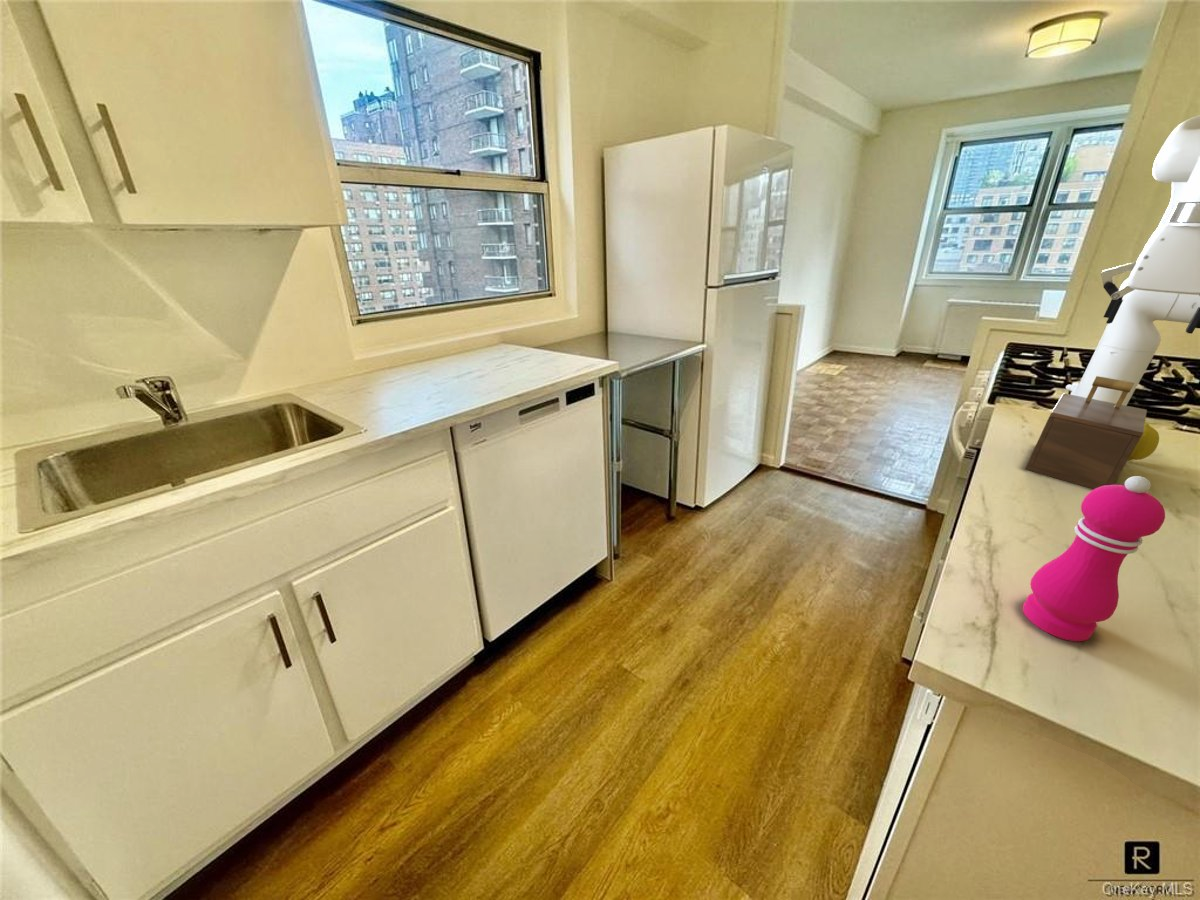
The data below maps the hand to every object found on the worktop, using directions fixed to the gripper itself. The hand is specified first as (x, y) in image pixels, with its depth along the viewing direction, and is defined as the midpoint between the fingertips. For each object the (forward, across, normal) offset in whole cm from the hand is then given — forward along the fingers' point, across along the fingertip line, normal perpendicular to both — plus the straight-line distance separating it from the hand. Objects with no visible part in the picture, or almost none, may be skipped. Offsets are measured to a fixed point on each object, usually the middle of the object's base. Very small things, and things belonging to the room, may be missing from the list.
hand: (1147, 327), depth 83 cm
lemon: (+26, -6, -6) cm, 28 cm away
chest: (+26, +1, +6) cm, 27 cm away
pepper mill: (+27, -3, +57) cm, 63 cm away
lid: (+15, +1, +5) cm, 16 cm away
